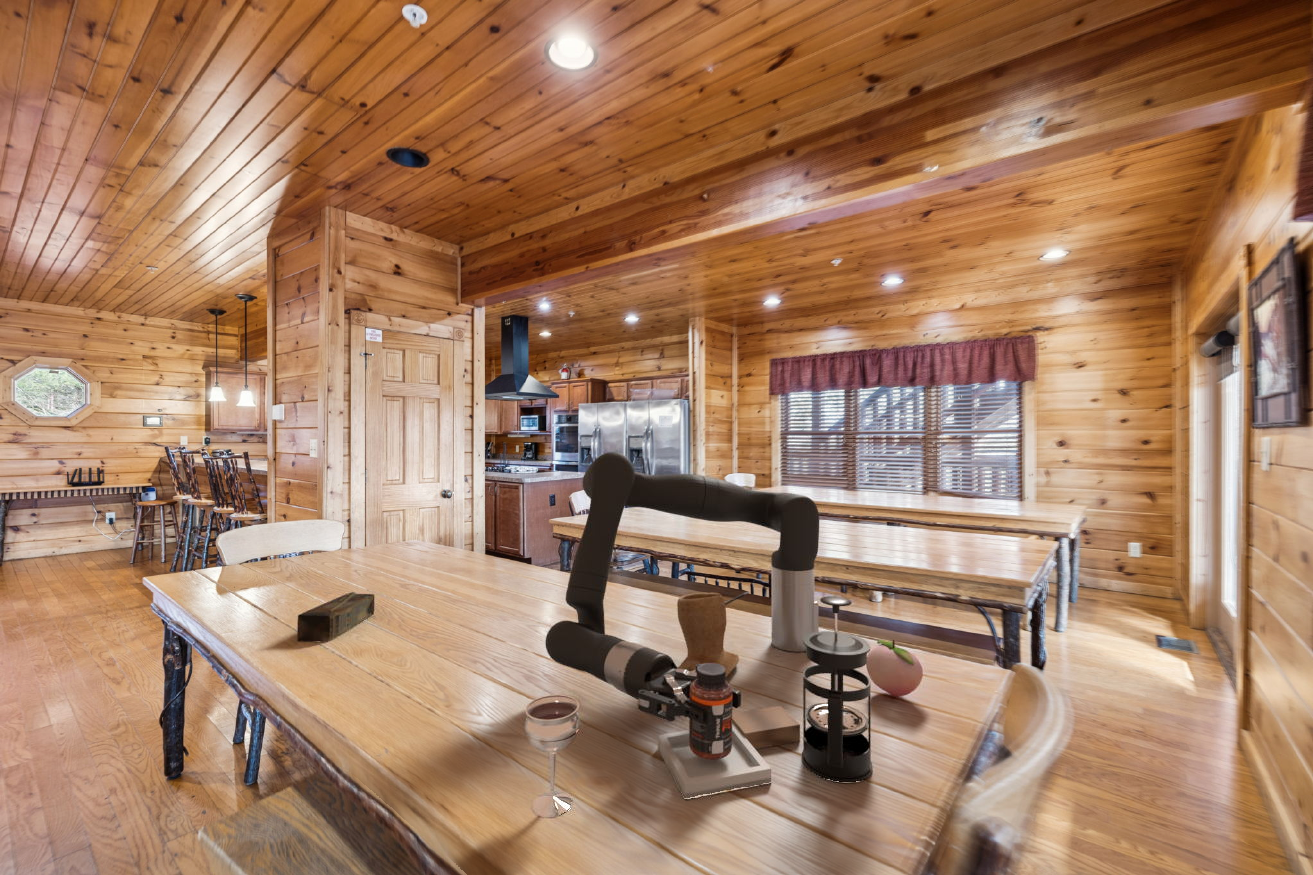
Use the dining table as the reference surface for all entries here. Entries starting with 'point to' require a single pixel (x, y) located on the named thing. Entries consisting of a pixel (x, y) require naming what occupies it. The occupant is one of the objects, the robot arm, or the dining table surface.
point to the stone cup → (704, 630)
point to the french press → (836, 705)
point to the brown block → (767, 726)
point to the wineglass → (552, 743)
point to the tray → (712, 765)
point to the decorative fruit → (894, 669)
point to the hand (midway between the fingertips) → (725, 708)
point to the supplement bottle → (718, 697)
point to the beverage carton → (334, 617)
